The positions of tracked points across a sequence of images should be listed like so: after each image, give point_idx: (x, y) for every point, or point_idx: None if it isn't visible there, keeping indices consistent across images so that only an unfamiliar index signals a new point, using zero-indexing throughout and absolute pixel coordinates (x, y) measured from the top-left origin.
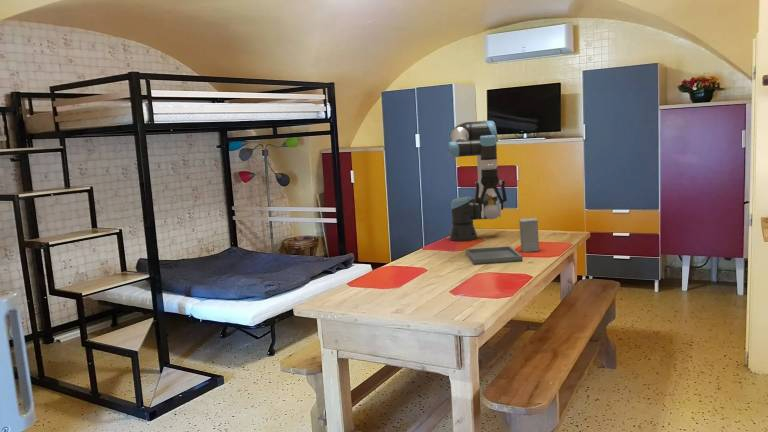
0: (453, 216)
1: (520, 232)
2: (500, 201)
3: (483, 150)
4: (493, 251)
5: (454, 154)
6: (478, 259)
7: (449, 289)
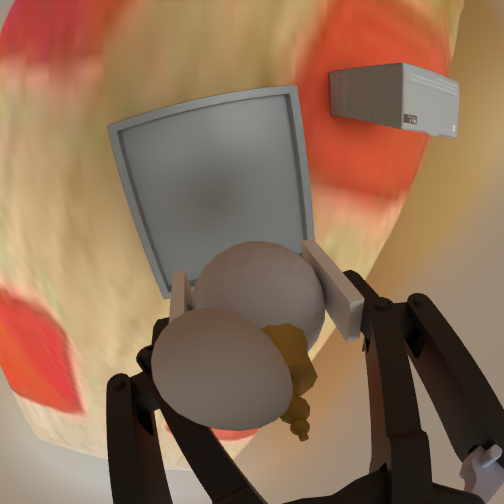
0: None
1: (365, 92)
2: (365, 347)
3: None
4: (222, 108)
5: None
6: None
7: (163, 424)
